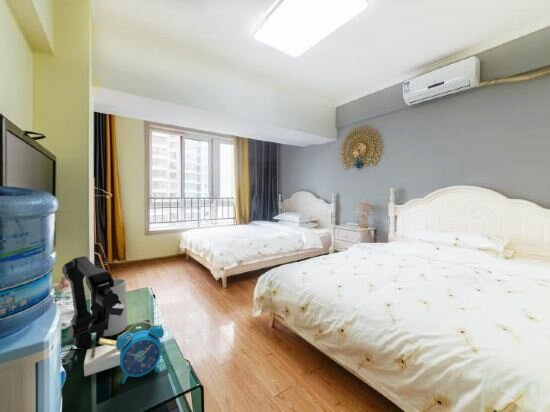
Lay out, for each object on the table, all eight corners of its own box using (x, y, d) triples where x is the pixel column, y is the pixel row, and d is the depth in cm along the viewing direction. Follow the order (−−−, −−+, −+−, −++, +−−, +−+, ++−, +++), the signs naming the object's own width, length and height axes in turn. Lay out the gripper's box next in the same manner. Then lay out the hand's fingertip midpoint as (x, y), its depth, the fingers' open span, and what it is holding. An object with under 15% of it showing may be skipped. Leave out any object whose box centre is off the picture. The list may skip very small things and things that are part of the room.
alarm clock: (116, 390, 88) (114, 338, 86) (118, 372, 97) (116, 324, 95) (166, 373, 96) (165, 325, 95) (163, 357, 105) (162, 313, 104)
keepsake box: (129, 348, 111) (128, 334, 111) (129, 361, 102) (128, 347, 102) (87, 360, 103) (86, 346, 102) (84, 376, 94) (83, 360, 94)
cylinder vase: (132, 323, 131) (131, 279, 129) (115, 337, 119) (113, 288, 117) (111, 322, 132) (109, 278, 131) (92, 336, 120) (89, 287, 118)
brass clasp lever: (122, 344, 106) (123, 341, 107) (122, 347, 104) (123, 345, 104) (98, 340, 102) (100, 337, 102) (98, 343, 99) (99, 341, 99)
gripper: (122, 305, 96) (124, 343, 97) (122, 288, 112) (124, 321, 113) (87, 313, 90) (89, 352, 91) (92, 294, 106) (94, 328, 107)
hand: (101, 337), depth 101 cm, fingers closed
